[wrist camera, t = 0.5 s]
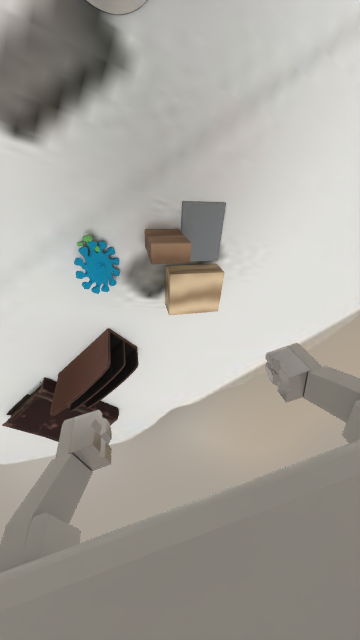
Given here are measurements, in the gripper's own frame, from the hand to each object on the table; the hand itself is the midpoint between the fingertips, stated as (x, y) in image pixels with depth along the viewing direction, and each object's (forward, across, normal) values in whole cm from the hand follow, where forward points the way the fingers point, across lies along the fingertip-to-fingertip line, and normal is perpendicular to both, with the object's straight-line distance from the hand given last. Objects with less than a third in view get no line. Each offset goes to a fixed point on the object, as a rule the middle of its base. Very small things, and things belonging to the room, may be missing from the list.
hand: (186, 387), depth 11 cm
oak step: (+42, -8, +18) cm, 46 cm away
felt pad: (+42, -13, +7) cm, 44 cm away
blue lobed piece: (+42, +9, +6) cm, 44 cm away
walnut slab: (+42, -5, +5) cm, 43 cm away
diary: (+43, +37, +47) cm, 73 cm away
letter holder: (+42, +20, +32) cm, 57 cm away
